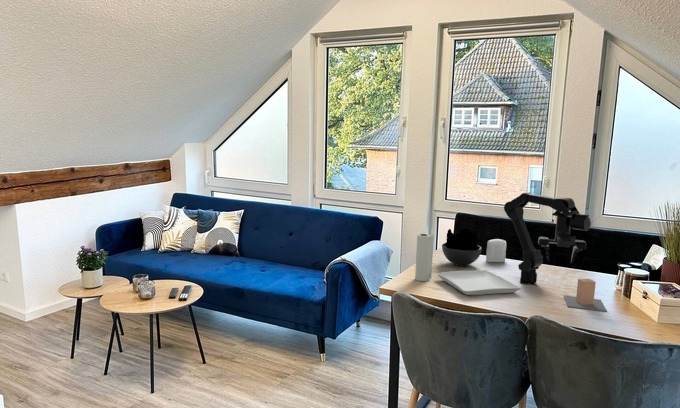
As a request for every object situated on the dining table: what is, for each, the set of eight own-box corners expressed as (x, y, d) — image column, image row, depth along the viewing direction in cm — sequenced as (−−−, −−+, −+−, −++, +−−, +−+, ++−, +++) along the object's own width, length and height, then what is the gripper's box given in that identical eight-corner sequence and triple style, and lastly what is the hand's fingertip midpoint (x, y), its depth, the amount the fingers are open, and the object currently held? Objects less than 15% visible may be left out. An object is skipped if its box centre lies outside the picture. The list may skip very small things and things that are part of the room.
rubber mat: (567, 307, 193) (567, 306, 192) (563, 296, 206) (563, 295, 206) (607, 312, 188) (607, 311, 188) (600, 300, 201) (600, 299, 201)
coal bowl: (485, 264, 254) (487, 229, 252) (473, 272, 238) (476, 235, 235) (448, 258, 265) (450, 224, 262) (435, 266, 248) (437, 230, 245)
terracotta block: (581, 304, 195) (584, 281, 193) (575, 301, 198) (578, 278, 197) (593, 304, 195) (595, 281, 194) (587, 301, 199) (589, 278, 198)
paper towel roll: (414, 280, 222) (416, 235, 219) (416, 277, 228) (418, 232, 225) (429, 282, 220) (432, 236, 217) (431, 278, 226) (433, 234, 223)
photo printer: (502, 260, 263) (504, 238, 261) (506, 262, 258) (508, 240, 257) (484, 260, 261) (486, 238, 260) (488, 262, 257) (489, 240, 255)
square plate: (464, 299, 200) (465, 290, 199) (434, 279, 226) (435, 271, 225) (521, 295, 207) (522, 286, 206) (486, 276, 233) (486, 268, 232)
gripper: (541, 228, 204) (538, 264, 206) (590, 232, 198) (586, 269, 200) (539, 224, 215) (536, 258, 217) (586, 227, 209) (582, 262, 211)
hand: (559, 262), depth 211 cm, fingers open, 9 cm apart
